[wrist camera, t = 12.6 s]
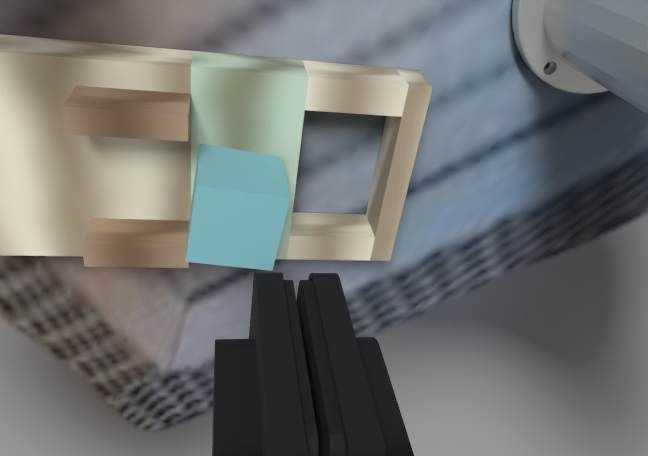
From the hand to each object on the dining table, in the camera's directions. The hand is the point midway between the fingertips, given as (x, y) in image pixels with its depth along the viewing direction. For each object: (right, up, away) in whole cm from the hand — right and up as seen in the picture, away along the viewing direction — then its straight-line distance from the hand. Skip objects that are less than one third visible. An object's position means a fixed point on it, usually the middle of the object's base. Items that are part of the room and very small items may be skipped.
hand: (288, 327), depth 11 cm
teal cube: (-5, +5, +23) cm, 24 cm away
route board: (-7, +7, +25) cm, 27 cm away
